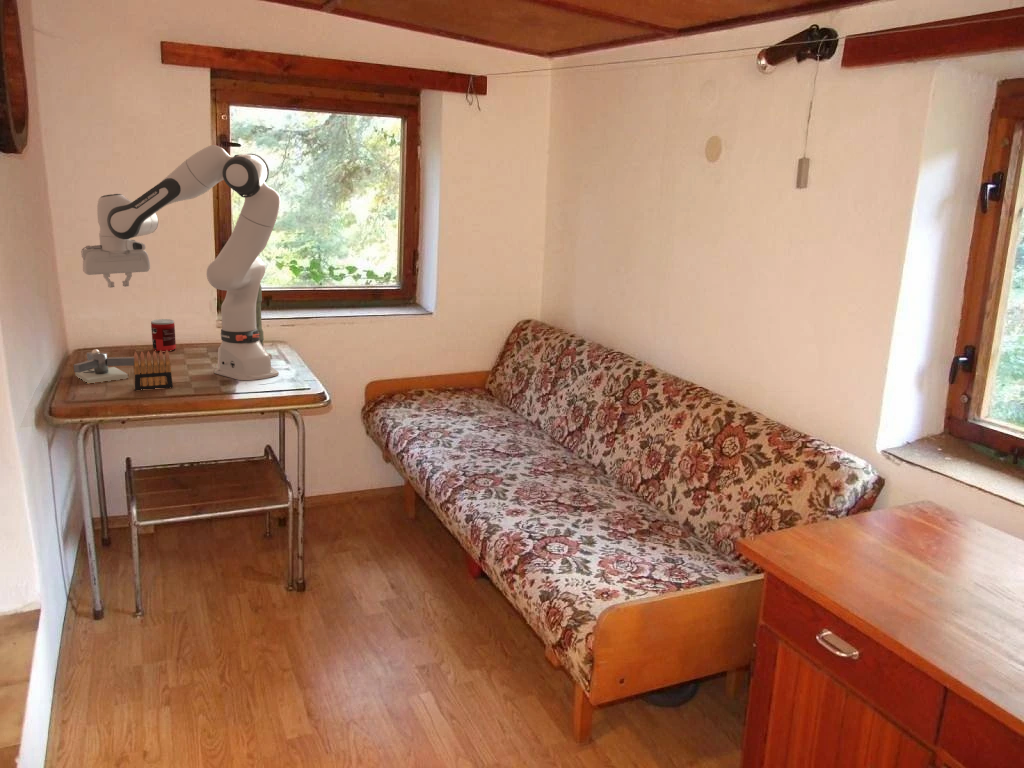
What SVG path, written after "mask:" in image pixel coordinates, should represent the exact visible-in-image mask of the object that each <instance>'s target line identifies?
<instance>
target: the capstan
mask: <svg viewBox="0 0 1024 768" xmlns="http://www.w3.org/2000/svg"><path fill="white" fill-rule="evenodd" d="M86 356H87V357H86V358H87V360H85V361H81V362H78V363H74V364H73V372H74V373H75V372H78V373H80V372H83V371H87V370H94V372H95V373H97V374H103V373H108V368H109V367H122V366H123V367H128V366H129V367H131V366H132V367H134V356H121V357H120V356H117V357H113V356H112V357H110V356H109V357H108V353H107V352H100V350H99V349H97V348H95V349H93V350H91V351H89V352H86Z"/></svg>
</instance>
